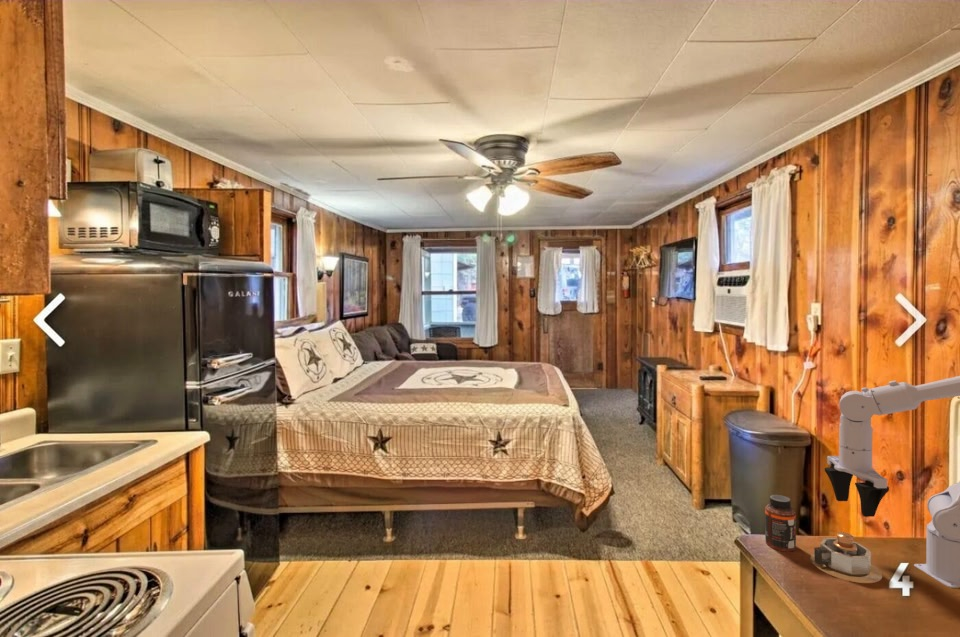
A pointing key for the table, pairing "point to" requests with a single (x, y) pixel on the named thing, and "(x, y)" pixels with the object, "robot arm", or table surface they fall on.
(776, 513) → the supplement bottle
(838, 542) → the copper knob
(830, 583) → the table surface
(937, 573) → the robot arm
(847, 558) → the grey octagonal base
